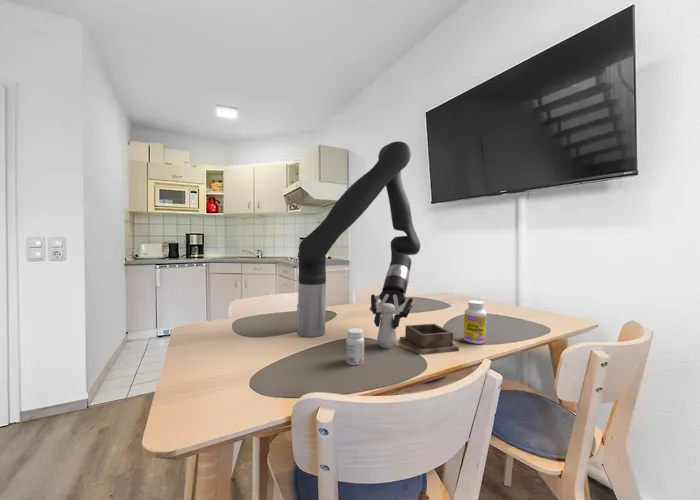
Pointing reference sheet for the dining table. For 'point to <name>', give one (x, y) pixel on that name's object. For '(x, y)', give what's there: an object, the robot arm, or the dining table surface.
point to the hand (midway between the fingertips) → (385, 326)
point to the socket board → (428, 339)
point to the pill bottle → (355, 347)
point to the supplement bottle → (475, 322)
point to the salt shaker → (387, 327)
